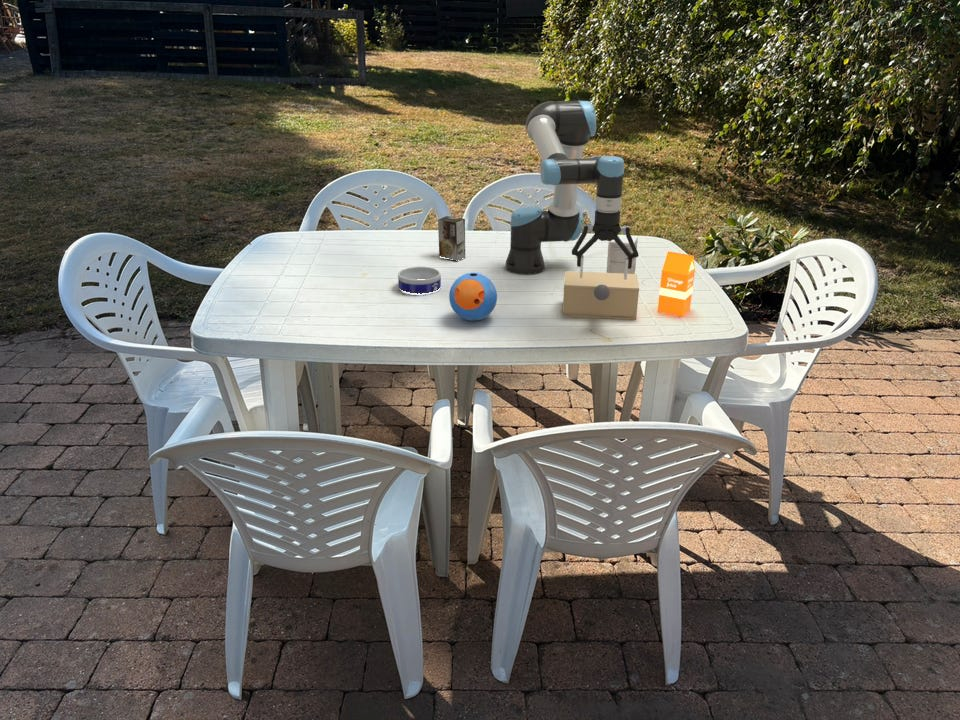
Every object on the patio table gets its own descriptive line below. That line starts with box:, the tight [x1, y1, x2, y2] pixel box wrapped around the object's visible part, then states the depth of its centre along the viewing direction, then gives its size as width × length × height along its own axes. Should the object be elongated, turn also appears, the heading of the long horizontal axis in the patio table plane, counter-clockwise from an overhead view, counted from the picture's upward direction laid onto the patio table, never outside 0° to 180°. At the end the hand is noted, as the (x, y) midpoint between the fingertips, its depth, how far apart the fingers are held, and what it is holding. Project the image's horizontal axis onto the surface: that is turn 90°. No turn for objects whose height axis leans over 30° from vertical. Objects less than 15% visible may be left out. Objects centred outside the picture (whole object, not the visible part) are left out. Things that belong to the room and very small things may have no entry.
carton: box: [562, 286, 640, 321], centre depth 258 cm, size 24×14×10 cm, turn 83°
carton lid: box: [563, 270, 640, 300], centre depth 251 cm, size 24×24×5 cm
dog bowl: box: [397, 266, 442, 294], centre depth 278 cm, size 15×15×6 cm
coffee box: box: [437, 215, 466, 262], centre depth 307 cm, size 9×6×16 cm
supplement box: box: [606, 234, 639, 274], centre depth 281 cm, size 10×9×17 cm
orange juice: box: [657, 250, 696, 317], centre depth 256 cm, size 8×9×20 cm
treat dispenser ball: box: [448, 272, 498, 322], centre depth 250 cm, size 16×15×15 cm
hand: (603, 277), depth 240 cm, fingers open, 13 cm apart
